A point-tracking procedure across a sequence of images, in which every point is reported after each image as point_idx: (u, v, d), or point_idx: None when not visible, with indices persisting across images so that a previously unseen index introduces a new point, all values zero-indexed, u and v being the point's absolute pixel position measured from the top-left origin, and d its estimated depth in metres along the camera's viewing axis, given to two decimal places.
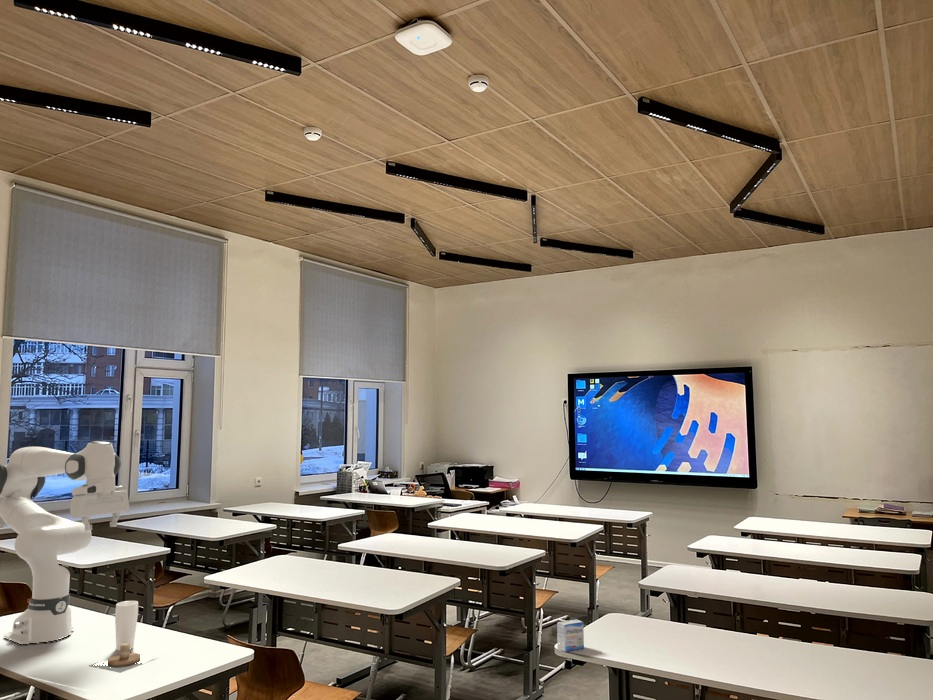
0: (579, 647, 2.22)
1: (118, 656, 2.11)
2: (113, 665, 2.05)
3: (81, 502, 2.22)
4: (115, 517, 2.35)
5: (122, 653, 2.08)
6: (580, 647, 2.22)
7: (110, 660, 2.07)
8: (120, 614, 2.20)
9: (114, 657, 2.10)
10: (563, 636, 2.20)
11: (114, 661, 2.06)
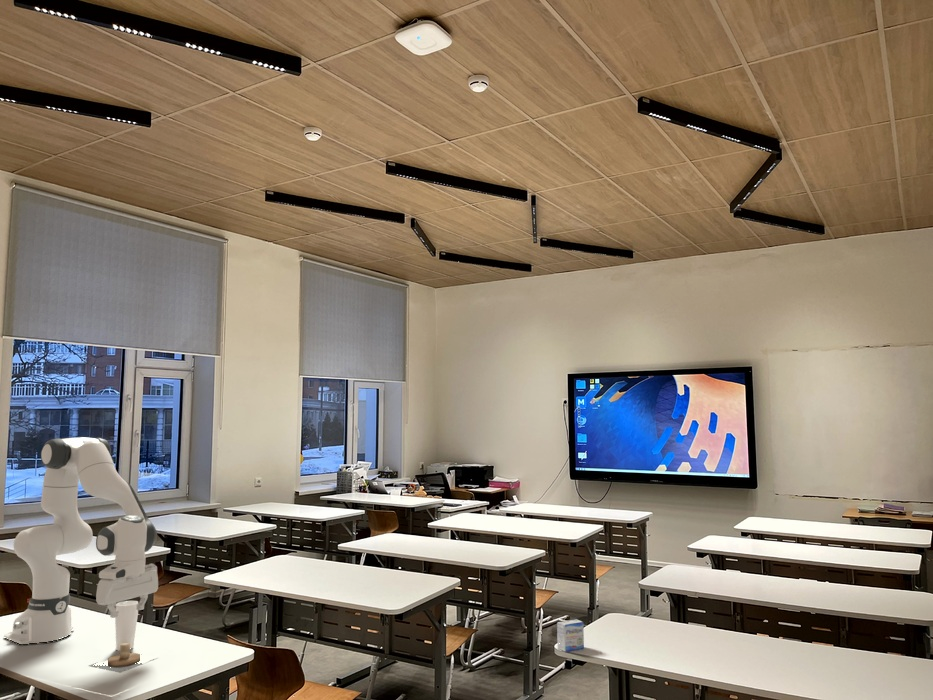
0: (579, 647, 2.22)
1: (118, 656, 2.11)
2: (113, 665, 2.05)
3: (108, 589, 2.03)
4: (143, 599, 2.16)
5: (122, 652, 2.08)
6: (580, 647, 2.22)
7: (110, 660, 2.07)
8: (120, 614, 2.20)
9: (114, 657, 2.10)
10: (563, 636, 2.20)
11: (114, 661, 2.06)
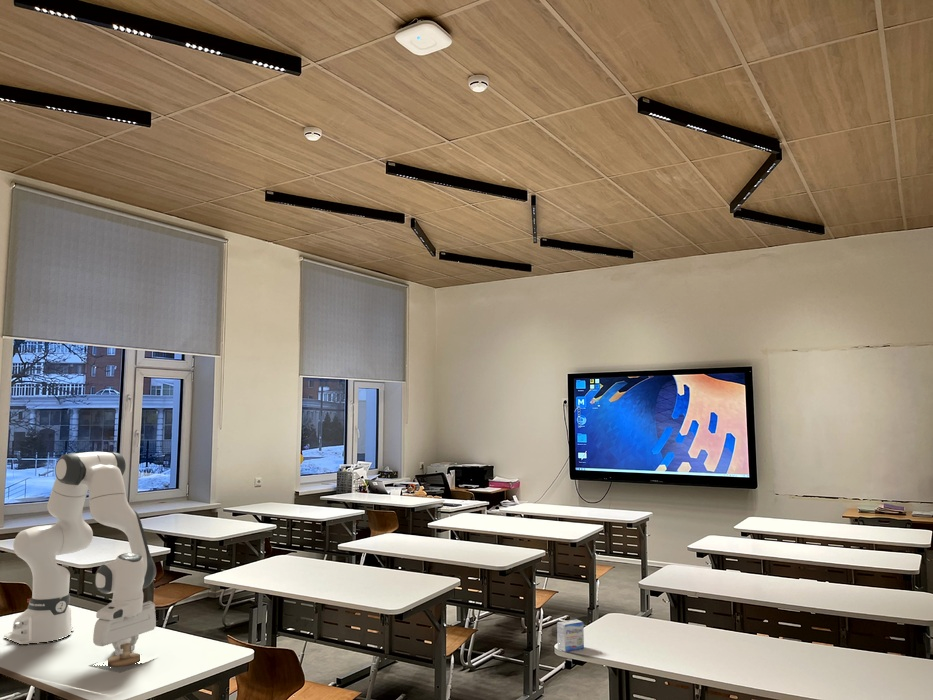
0: (579, 647, 2.22)
1: (118, 656, 2.11)
2: (113, 665, 2.05)
3: (105, 630, 2.01)
4: (133, 640, 2.12)
5: None
6: (580, 647, 2.22)
7: (110, 660, 2.07)
8: None
9: (114, 657, 2.10)
10: (563, 636, 2.20)
11: (114, 661, 2.06)
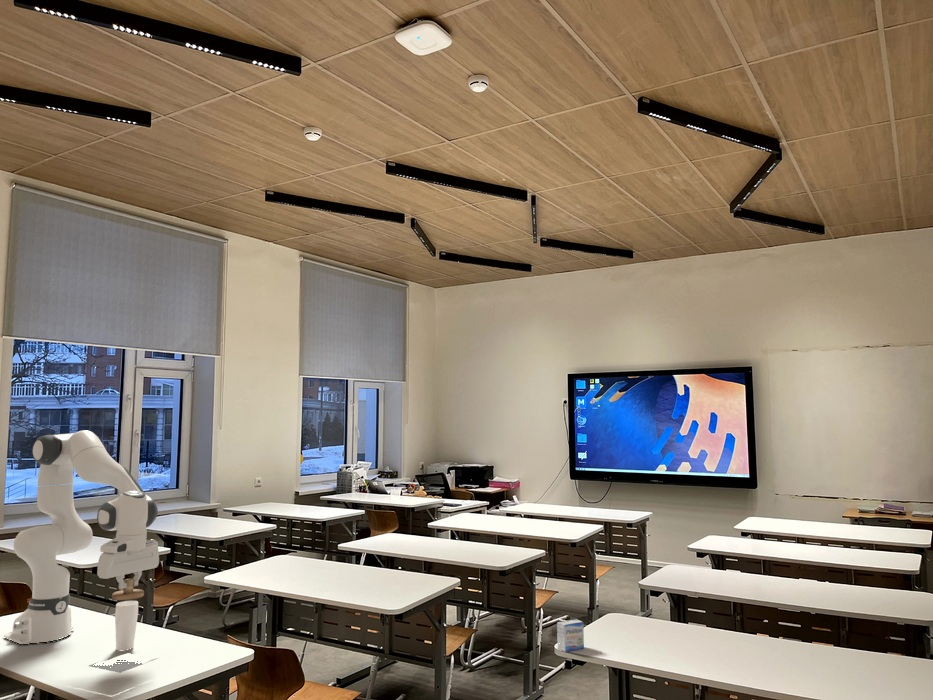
0: (579, 647, 2.22)
1: (122, 591, 2.13)
2: (117, 598, 2.07)
3: (109, 563, 2.04)
4: (137, 575, 2.15)
5: None
6: (580, 647, 2.22)
7: (114, 594, 2.09)
8: (120, 614, 2.20)
9: (118, 592, 2.12)
10: (563, 636, 2.20)
11: (118, 595, 2.09)
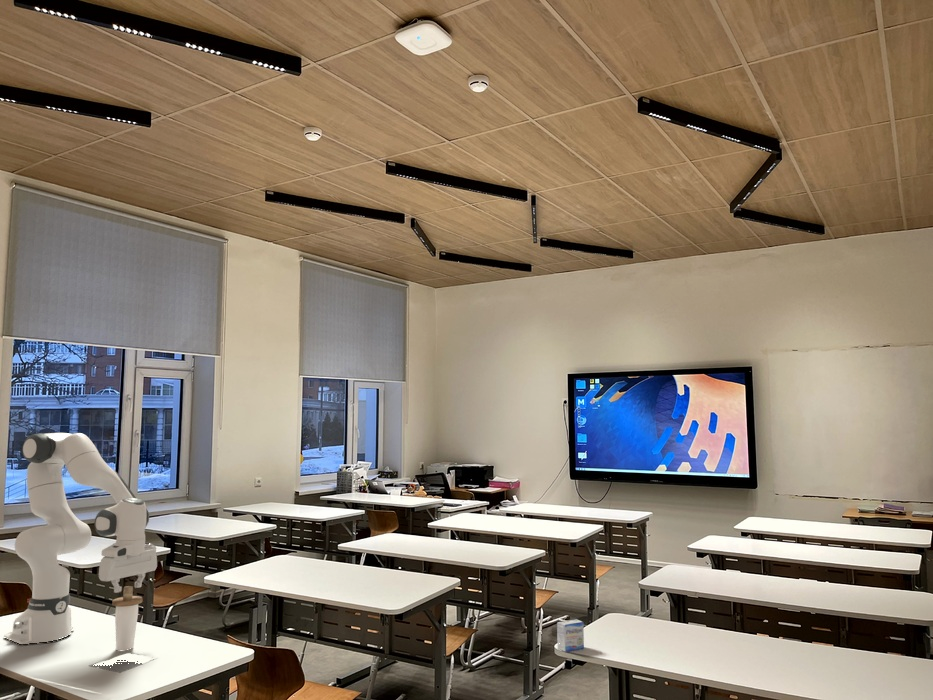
0: (579, 647, 2.22)
1: (121, 598, 2.25)
2: (117, 605, 2.19)
3: (110, 566, 2.16)
4: (140, 577, 2.29)
5: (125, 594, 2.23)
6: (580, 647, 2.22)
7: (114, 601, 2.21)
8: (120, 614, 2.20)
9: (118, 599, 2.24)
10: (563, 636, 2.20)
11: (118, 601, 2.21)
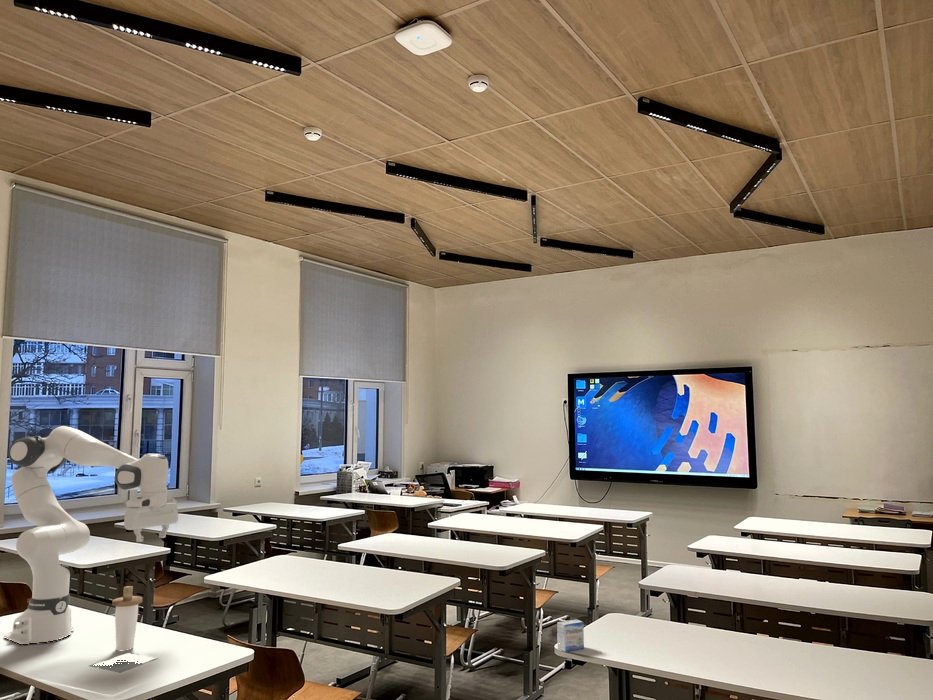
0: (579, 647, 2.22)
1: (121, 598, 2.25)
2: (117, 605, 2.19)
3: (135, 515, 2.28)
4: (164, 528, 2.41)
5: (125, 594, 2.23)
6: (580, 647, 2.22)
7: (114, 601, 2.21)
8: (120, 614, 2.20)
9: (118, 599, 2.24)
10: (563, 636, 2.20)
11: (118, 601, 2.21)
